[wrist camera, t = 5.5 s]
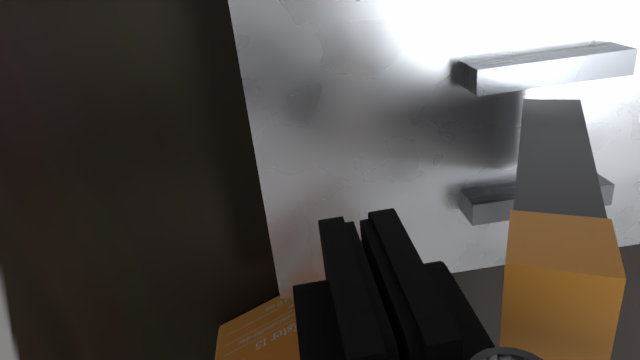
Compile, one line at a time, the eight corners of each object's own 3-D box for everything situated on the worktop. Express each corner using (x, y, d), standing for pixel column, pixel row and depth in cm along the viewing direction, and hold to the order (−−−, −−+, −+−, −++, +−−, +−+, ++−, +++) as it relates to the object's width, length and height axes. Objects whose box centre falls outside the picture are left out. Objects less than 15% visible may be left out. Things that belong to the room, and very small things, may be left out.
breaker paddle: (582, 97, 15) (626, 279, 7) (570, 189, 16) (597, 420, 9) (521, 97, 15) (505, 264, 8) (515, 185, 17) (496, 398, 9)
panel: (913, -262, 16) (1118, -329, 12) (771, 181, 23) (873, 227, 19) (202, -190, 15) (181, -240, 11) (278, 255, 22) (282, 320, 18)
